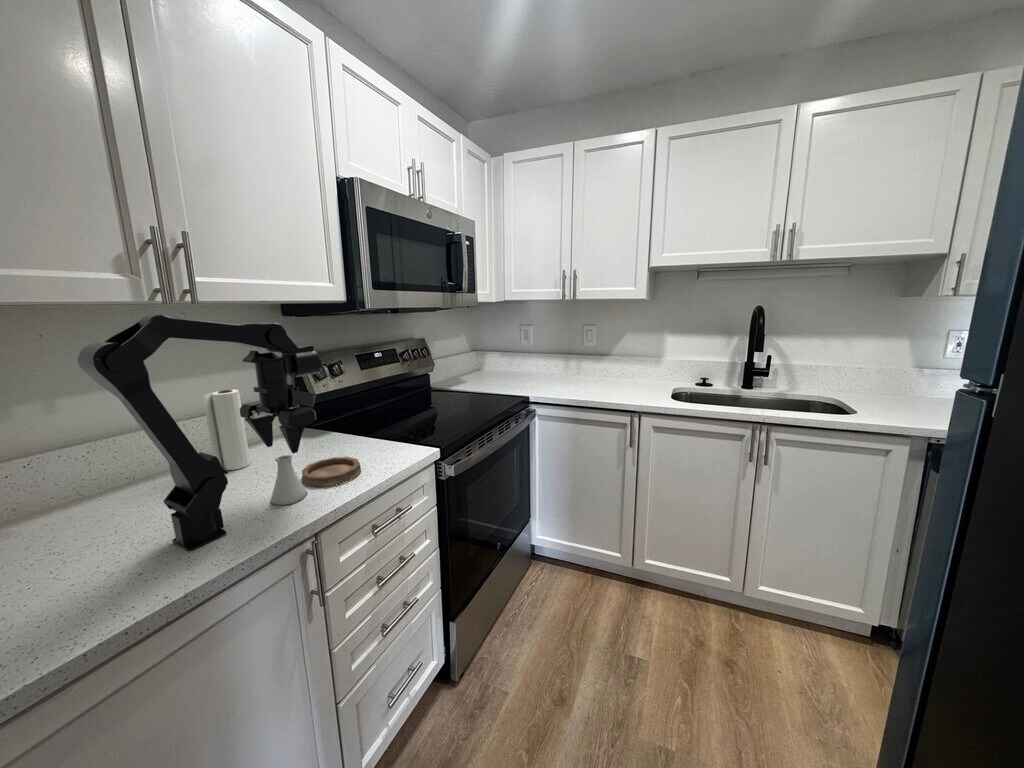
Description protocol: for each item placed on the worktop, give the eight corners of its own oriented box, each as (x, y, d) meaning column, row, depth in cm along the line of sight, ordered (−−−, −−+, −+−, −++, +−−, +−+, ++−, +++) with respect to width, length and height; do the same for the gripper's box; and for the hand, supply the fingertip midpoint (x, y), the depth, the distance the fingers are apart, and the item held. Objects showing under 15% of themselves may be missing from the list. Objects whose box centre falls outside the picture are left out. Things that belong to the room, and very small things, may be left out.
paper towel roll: (253, 460, 116) (241, 388, 112) (247, 468, 111) (234, 392, 106) (224, 464, 114) (211, 390, 110) (216, 472, 108) (202, 394, 104)
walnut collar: (326, 491, 96) (325, 482, 95) (290, 480, 102) (288, 472, 102) (372, 470, 108) (371, 461, 107) (337, 461, 114) (336, 453, 114)
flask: (291, 507, 89) (285, 464, 87) (263, 504, 90) (257, 462, 88) (313, 492, 96) (308, 452, 94) (287, 490, 97) (281, 450, 95)
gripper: (333, 377, 90) (340, 444, 93) (282, 372, 99) (290, 433, 102) (285, 387, 80) (295, 461, 83) (233, 380, 89) (244, 447, 92)
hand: (282, 449), depth 91 cm, fingers open, 9 cm apart
